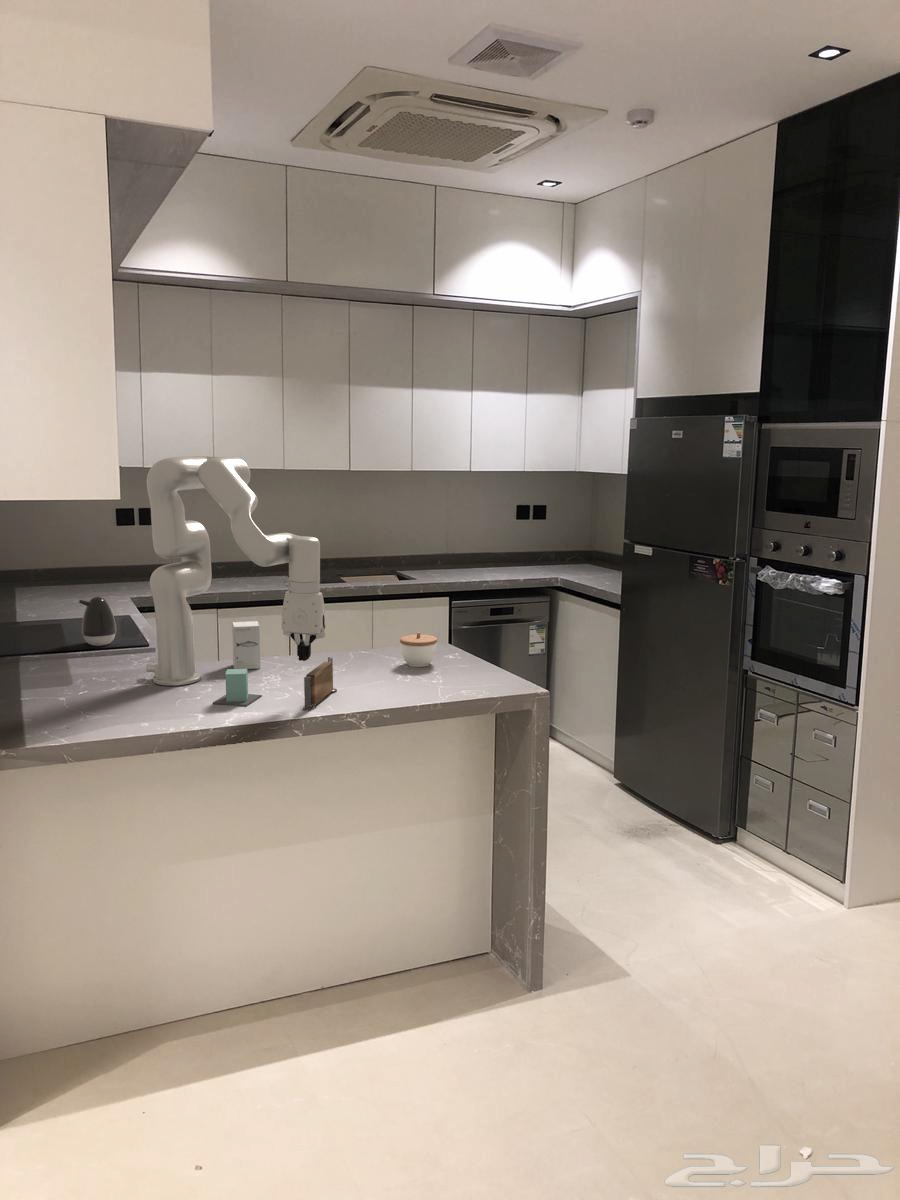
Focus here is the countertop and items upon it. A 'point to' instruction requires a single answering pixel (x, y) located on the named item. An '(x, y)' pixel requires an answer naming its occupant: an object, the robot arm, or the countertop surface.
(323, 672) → the gate
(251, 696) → the mat
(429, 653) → the lidded jar
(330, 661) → the gate post
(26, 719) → the countertop surface
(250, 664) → the supplement box
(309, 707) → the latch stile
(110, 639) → the pump dispenser
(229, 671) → the block
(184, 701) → the countertop surface
